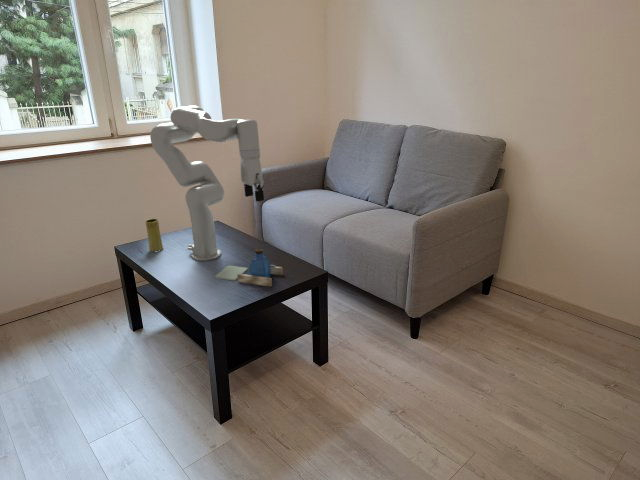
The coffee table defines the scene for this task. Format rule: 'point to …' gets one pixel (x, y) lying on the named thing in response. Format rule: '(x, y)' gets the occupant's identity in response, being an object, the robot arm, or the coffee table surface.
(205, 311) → the coffee table surface
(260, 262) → the perfume bottle
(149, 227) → the vase
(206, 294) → the coffee table surface
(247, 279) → the cradle
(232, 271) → the mat
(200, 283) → the coffee table surface
